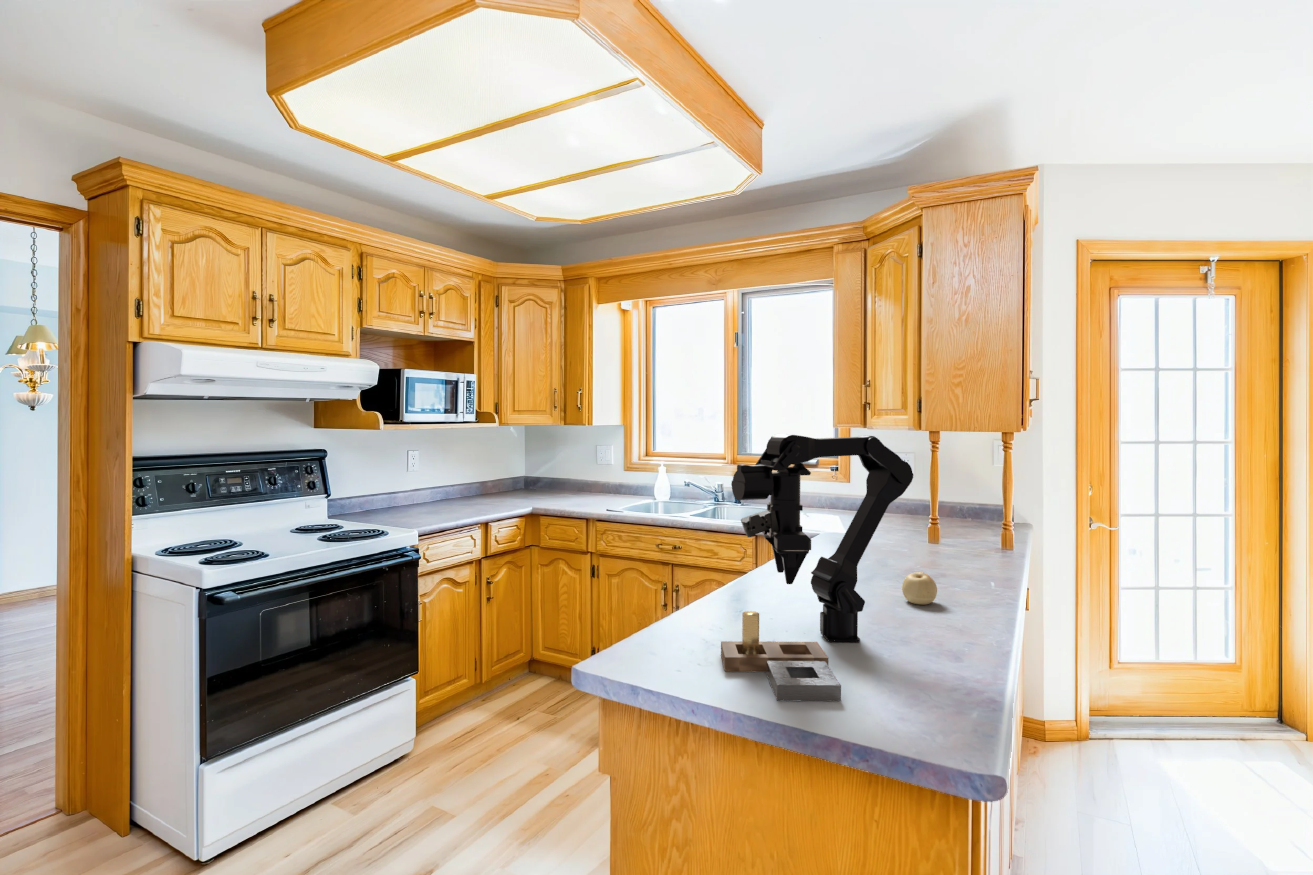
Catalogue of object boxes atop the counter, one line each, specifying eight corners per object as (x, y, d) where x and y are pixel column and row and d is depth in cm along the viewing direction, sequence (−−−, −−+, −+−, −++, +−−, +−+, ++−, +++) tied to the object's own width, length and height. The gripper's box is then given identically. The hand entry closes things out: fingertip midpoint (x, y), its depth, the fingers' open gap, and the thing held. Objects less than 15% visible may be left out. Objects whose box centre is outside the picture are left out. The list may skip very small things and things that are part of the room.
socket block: (824, 675, 110) (824, 660, 110) (841, 701, 100) (841, 685, 100) (766, 675, 110) (766, 660, 110) (777, 700, 100) (777, 684, 100)
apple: (933, 596, 157) (943, 574, 153) (928, 617, 151) (938, 595, 147) (901, 583, 160) (910, 561, 156) (895, 603, 154) (904, 581, 150)
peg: (757, 659, 117) (757, 611, 116) (760, 666, 114) (760, 616, 114) (741, 659, 117) (741, 611, 117) (743, 666, 114) (743, 616, 114)
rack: (817, 655, 119) (817, 641, 119) (828, 671, 111) (828, 657, 111) (720, 654, 119) (720, 641, 119) (725, 671, 111) (725, 657, 111)
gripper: (738, 492, 134) (737, 566, 134) (750, 504, 115) (749, 590, 116) (791, 493, 134) (790, 567, 134) (812, 505, 115) (811, 590, 115)
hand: (784, 577), depth 125 cm, fingers open, 9 cm apart
